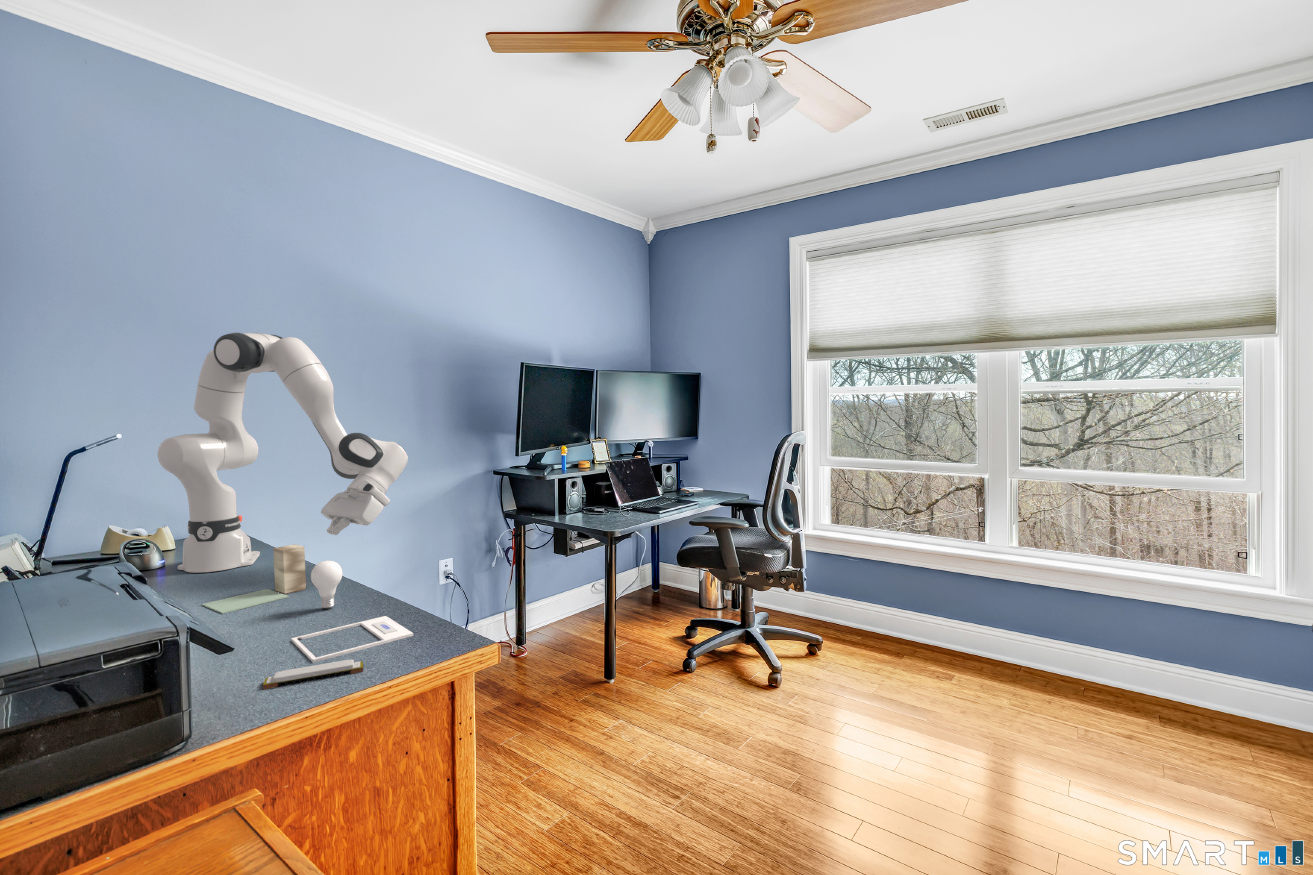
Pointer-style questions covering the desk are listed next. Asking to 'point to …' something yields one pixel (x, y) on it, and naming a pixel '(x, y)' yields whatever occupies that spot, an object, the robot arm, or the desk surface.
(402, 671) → the desk surface
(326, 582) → the lightbulb
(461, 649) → the desk surface
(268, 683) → the harmonica
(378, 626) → the photo frame
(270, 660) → the desk surface
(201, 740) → the desk surface
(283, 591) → the birch block
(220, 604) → the mat
